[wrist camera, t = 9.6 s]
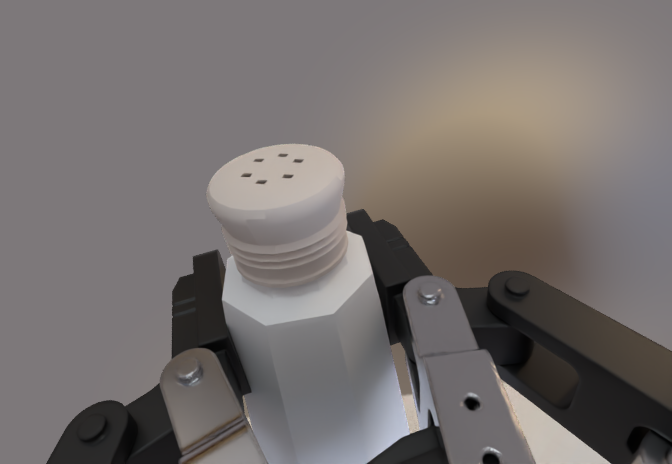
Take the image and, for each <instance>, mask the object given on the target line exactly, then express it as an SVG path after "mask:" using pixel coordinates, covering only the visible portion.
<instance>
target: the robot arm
mask: <svg viewBox="0 0 672 464" xmlns="http://www.w3.org/2000/svg"><path fill="white" fill-rule="evenodd" d="M346 215H347V216H346V219H347V228H346V231H349V232H352V233H354V234H357V235H360V236H362V238H363V241H364V244H365V247H366V250H367V254H368V257H369V261H370V264H371V268H372V271H373V276H374V280H375V284H376V288H377V291H378V295H379V298H380V303H381V307H382V311H383V316H384V320H385V325H386V329H387V334H388V338H389V343H390V345H393V344H396V343H399V342H401V344H402V346H403V348H404V350H405V360H406V365H407V370H408V374H409V379H410V384H411V388H412V393H413V398H414V402H415V407H416V411H417V416H418V421H419V428H420V431H417V432H415V433H412V434H409V435H407V436H404V437H402V438H400V439H399V440H397V441H396V442H395V443H393V444H392V445H391V446H389V447H388V448H387V449H385V450H384V451H383V452H381V453H380V454H379V455H377V456H376V457H375V458H373V459H372V460H371V461H369V462H368V463H366V464H536V463H535V460H534V458H533V456H532V453H531V451H530V448H529V446H528V443H527V441H526V439H525V436H524V434H523V431H522V429H521V427H520V424H519V422H518V419H517V417H516V415H515V412H514V410H513V407H512V405H511V402H510V400H509V398H508V395H507V393H506V390H505V388H504V386H503V383H502V381H501V379H502V380H503V381H505V382H506V383H507V384H509V385H510V386H511V387H512V388H514V389H515V390H516V391H518V392H519V393H520V394H522V395H523V396H524V397H525V398H527V399H528V400H529V401H531V402H532V403H533V404H535V405H536V406H537V407H538V408H540V409H541V410H542V411H544V412H545V413H546V414H548V415H549V416H550V417H551V418H553V419H554V420H555V421H557V422H558V423H559V424H561V425H562V426H563V427H564V428H566V429H567V430H568V431H570V432H571V433H572V434H574V435H575V436H576V437H577V438H579V439H580V440H581V441H583V442H584V443H585V444H587V445H588V446H589V447H590V448H592V449H593V450H594V451H596V452H597V453H598V454H600V455H601V456H602V457H603V458H605V459H606V460H607V461H609V462H610V463H611V464H672V351H670V350H668V349H667V348H665V347H663V346H661V345H659V344H657V343H656V342H653V341H652V340H650V339H648V338H646V337H644V336H643V335H641V334H639V333H637V332H635V331H633V330H632V329H630V328H628V327H626V326H624V325H622V324H620V323H619V322H617V321H615V320H613V319H611V318H610V317H608V316H606V315H604V314H602V313H600V312H599V311H597V310H595V309H593V308H591V307H589V306H587V305H586V304H584V303H582V302H580V301H578V300H576V299H575V298H573V297H571V296H569V295H567V294H565V293H563V292H562V291H560V290H558V289H556V288H554V287H552V286H550V285H549V284H547V283H545V282H543V281H541V280H540V279H538V278H536V277H534V276H532V275H530V274H527V273H524V272H520V271H504V272H500V273H498V274H496V275H494V276H493V277H492V278H491V279H490V281H489V285H488V287H484V288H483V287H482V288H456V287H454V286H453V285H452V284H451V283H450V282H449V281H447V280H445V279H443V278H441V277H437V276H433V275H432V273H431V272H430V271H429V270H428V268H427V267H426V266H425V264H424V263H423V262H422V260H421V259H420V258H419V256H418V255H417V254H416V252H415V251H414V250H413V248H412V247H411V246H410V245H409V243H408V242H407V241H406V239H404V238H403V235H402V234H401V233H400V231H399V230H398V229H397V227H396V226H394V225H392V224H390V223H389V222H387V221H385V220H380V221H376V222H372V220H371V219H370V217H369V216H368V214H367V213H366V211H365V210H364V209H361V210H358V211H354V212H350V213H347V214H346ZM193 269H194V274H190V275H187V276H183V277H180V278H179V280H178V282H177V284H176V286H175V288H174V289H173V291H172V305H173V307H172V316H173V318H172V360H171V361H170V362H169V363H168V364H167V365H166V366H165V368H164V370H163V372H162V374H161V377H160V383H159V384H158V385H157V386H156V387H154V388H153V389H152V390H151V391H149V392H148V393H146V394H144V395H143V396H141V397H140V398H138V399H136V400H135V401H133V402H132V403H130V404H128V405H127V406H124V405H123V404H122V403H120V402H117V401H112V400H109V401H102V402H98V403H96V404H93V405H92V406H90V407H88V408H86V409H85V410H83V411H82V412H81V413H79V414H78V415H77V416H76V417H75V418H74V419H73V420H72V421H71V422H70V424H69V425H68V426H67V428H66V429H65V431H64V433H63V434H62V436H61V438H60V440H59V442H58V444H57V445H56V447H55V449H54V451H53V452H52V454H51V456H50V458H49V460H48V461H47V463H46V464H268V462H267V460H266V457H265V455H264V453H263V451H262V449H261V447H260V445H259V443H258V441H257V439H256V437H255V435H254V432H253V430H252V428H251V426H250V424H249V422H248V420H247V418H246V416H245V414H244V405H243V399H242V396H243V395H246V394H249V393H252V391H251V388H250V385H249V383H248V380H247V377H246V375H245V372H244V369H243V367H242V364H241V361H240V359H239V356H238V353H237V350H236V348H235V345H234V342H233V340H232V337H231V334H230V332H229V329H228V326H227V324H226V320H225V314H224V309H223V303H222V295H223V287H224V280H225V273H226V269H225V266H224V264H223V261H222V258H221V255H220V253H219V251H218V250H214V251H210V252H207V253H203V254H199V255H196V256H194V257H193Z"/></svg>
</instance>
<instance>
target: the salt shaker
mask: <svg viewBox="0 0 672 464" xmlns="http://www.w3.org/2000/svg"><path fill="white" fill-rule="evenodd" d="M344 182H345V174H344V169H343V165H342V163H341V162H340V161H339V160H338V159H337V158H336V157H335V156H334V155H333V154H332V153H330V152H329V151H326V150H324V149H322V148H320V147H315V146H311V145H302V144H283V145H274V146H268V147H264V148H261V149H257V150H254V151H251V152H249V153H246V154H244V155H241V156H239V157H237V158H236V159H234V160H232V161H230V162H228V163H227V164H225V165H224V166H223V167H222V168H221V169H219V170H218V171H217V172H216V173H215V175H214V176H213V178H212V179H211V180H210V183H209V185H208V188H207V193H206V197H207V201H208V204H209V206H210V209H211V211H212V212H213V214H214V215H215V217H216V218H217V219H218V220H219V222H220V223H221V224H222V227H221V230H222V233H223V236H224V238H225V241H226V244H227V246H228V249H229V252H230V253H231V254H232V256H231V257H230V258H228V259H227V266H226V273H225V280H224V287H223V295H222V303H223V309H224V314H225V320H226V324H227V326H228V329H229V332H230V334H231V337H232V340H233V342H234V345H235V348H236V350H237V353H238V356H239V359H240V361H241V364H242V367H243V369H244V372H245V375H246V377H247V380H248V383H249V385H250V388H251V391H252V393H249V394H246V395H244V397H245V400H246V405H247V409H248V413H249V417H250V421H251V425H252V429H253V432H254V435H255V437H256V439H257V441H258V443H259V445H260V447H261V449H262V451H263V453H264V455H265V457H266V460H267V462H268V464H366V463H368V462H369V461H371V460H372V459H373V458H375V457H376V456H377V455H379V454H380V453H381V452H383V451H384V450H385V449H387V448H388V447H389V446H391V445H392V444H393V443H395V442H396V441H397V440H399V439H400V438H402V437H404V436H407V435H409V434H410V432H409V427H408V423H407V418H406V414H405V409H404V405H403V400H402V396H401V392H400V387H399V383H398V378H397V374H396V370H395V365H394V360H393V356H392V352H391V347H390V343H389V338H388V334H387V329H386V325H385V320H384V316H383V311H382V307H381V303H380V298H379V295H378V291H377V288H376V284H375V280H374V276H373V271H372V268H371V264H370V261H369V257H368V254H367V250H366V247H365V244H364V241H363V238H362V236H360V235H357V234H354V233H352V232H349V231H346V228H347V219H346V216H347V215H346V211H345V209H346V206H345V203H344V199H343V198H342V194H343V188H344Z"/></svg>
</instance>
